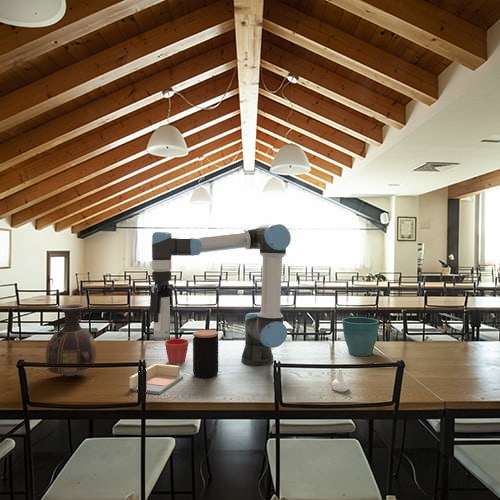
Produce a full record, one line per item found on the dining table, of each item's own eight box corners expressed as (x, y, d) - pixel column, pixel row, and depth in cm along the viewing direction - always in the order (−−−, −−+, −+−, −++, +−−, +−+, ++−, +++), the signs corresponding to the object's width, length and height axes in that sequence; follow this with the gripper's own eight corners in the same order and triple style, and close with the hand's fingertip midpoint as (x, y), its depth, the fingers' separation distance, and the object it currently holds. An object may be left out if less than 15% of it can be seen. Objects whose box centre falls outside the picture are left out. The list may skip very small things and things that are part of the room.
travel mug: (171, 339, 150) (171, 288, 149) (153, 340, 148) (153, 289, 148) (169, 336, 156) (169, 287, 155) (153, 337, 154) (153, 287, 154)
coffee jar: (223, 373, 163) (223, 331, 163) (208, 380, 154) (208, 336, 154) (203, 369, 169) (203, 329, 169) (187, 376, 160) (187, 333, 160)
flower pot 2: (340, 356, 189) (340, 322, 189) (343, 347, 206) (343, 316, 206) (378, 359, 183) (378, 324, 183) (378, 350, 200) (378, 318, 200)
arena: (183, 378, 157) (183, 366, 157) (159, 394, 140) (159, 380, 140) (155, 375, 161) (155, 363, 161) (129, 390, 144) (129, 377, 144)
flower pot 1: (183, 365, 174) (183, 344, 174) (161, 364, 176) (161, 343, 176) (191, 359, 185) (191, 339, 185) (170, 358, 187) (170, 338, 187)
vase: (39, 375, 161) (39, 304, 161) (87, 366, 174) (87, 300, 174) (53, 390, 144) (52, 311, 144) (104, 379, 156) (104, 306, 156)
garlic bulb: (330, 387, 148) (328, 367, 148) (346, 386, 148) (344, 365, 148) (334, 394, 142) (332, 372, 142) (351, 392, 142) (349, 370, 142)
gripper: (165, 269, 162) (166, 323, 162) (139, 271, 143) (139, 333, 143) (181, 269, 159) (181, 324, 159) (156, 272, 141) (157, 334, 141)
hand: (161, 328), depth 151 cm, fingers closed on travel mug, 6 cm apart
